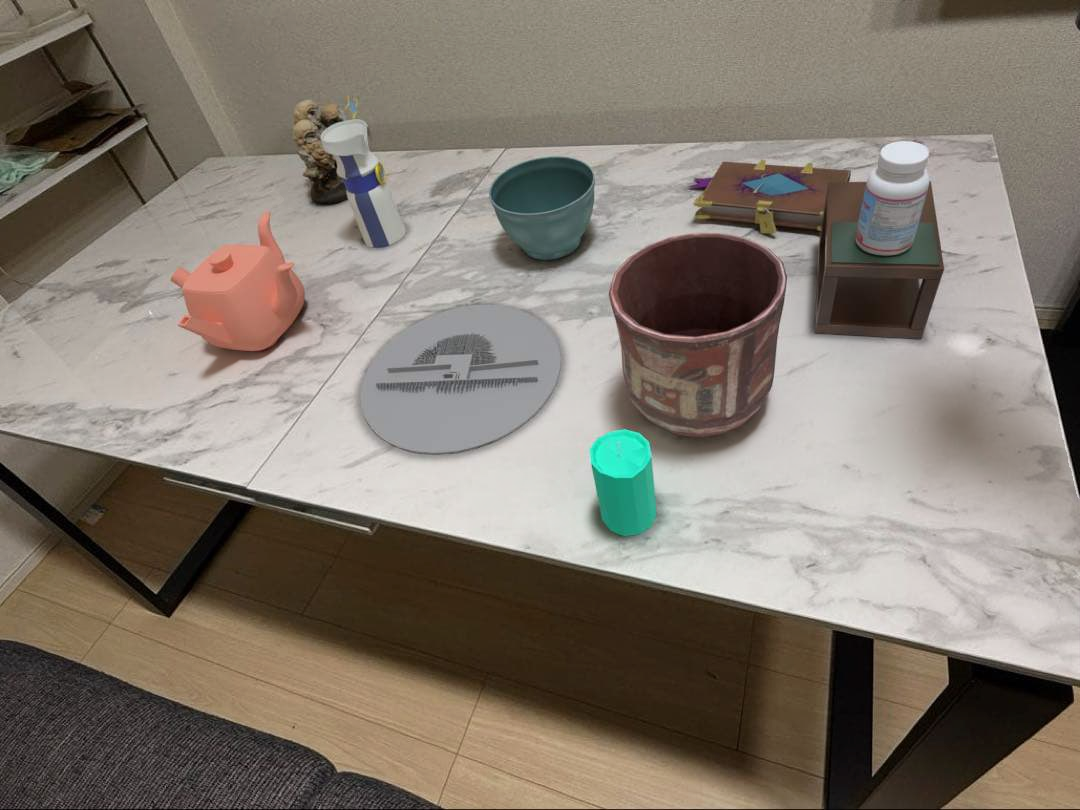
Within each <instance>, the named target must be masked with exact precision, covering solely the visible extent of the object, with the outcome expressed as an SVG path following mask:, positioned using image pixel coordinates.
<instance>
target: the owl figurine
mask: <svg viewBox="0 0 1080 810" xmlns="http://www.w3.org/2000/svg"><path fill="white" fill-rule="evenodd" d="M292 115H293V117H292V121H293V124H292V140H293V141H294V143H295V144H296V146H295V153H296V154H297V155H298V156H299V158H300V159H301V161H303V163H304V165H305V167H306V168H305V171H304V172H302V176H303V178H304V177H305V178H307V179H309V181H310V182H313V183H312V185H311V187H310V191H309V194H310V198H311V201H312V202H315V203H316V204H337V203H340V202H343V201H346V200H348V198H347V189H346V187H345V184H344V182H343V180H342V177H340V176H338V174H337V162H336V159H335V157H334V156H333V155H332V154H329V153H327V152H325V151H324V150H323V147H322V143H321V134H322V132H323V131H324V130H325V129H327V128H328V127H330V126H332V125H334V124H336V123H339V122H342V121H347V120H350V119H349V118H348V116H347V115H346V114H345V112H344V111H343V110H342V108H341V107H340V106H339V105H338V104H336V103H329V104H327V105H326V106H324V107H323V108H322V109H321V111H320V109H319V106H318V104H317V102H315V101H313V100H311V99H305V100H303V101H300V102H298V103H297V104H296V105H295V106H294V108H293V113H292Z"/></svg>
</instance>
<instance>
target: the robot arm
mask: <svg viewBox="0 0 1080 810" xmlns="http://www.w3.org/2000/svg"><path fill="white" fill-rule="evenodd" d="M1074 25H1075V26H1076V28H1077V30H1078V31H1080V9H1079V10H1078V12H1077V15H1076V17H1075V21H1074Z"/></svg>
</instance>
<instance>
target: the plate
mask: <svg viewBox="0 0 1080 810" xmlns="http://www.w3.org/2000/svg"><path fill="white" fill-rule="evenodd" d="M561 355H562V354H561V350H560V346H559V343H558V341H557V338H556V336H555V335H554V333H553V332H552V330H551V328H549V327H548V326H547V324H545V322H543V321H541V320H540V319H539V318H537V317H536V316H534V315H532V314H530V313H529V312H526V311H524V310H521V309H518V308H516V307H511V306H505V305H500V304H475V305H474V304H471V305H465V306H464V305H463V306H460V307H455V308H451V309H447V310H443V311H441V312H438V313H435V314H433V315H430V316H427V317H425V318H424V319H421V320H420V321H418V322H416V323H414V324H412V325H410V326H409V327H407V328H405V329H404V330H403V331H401V332H399V333H398V334H397V335H395V337H393V338H392V339H391V340H390V341H388V343H386V345H385V346H384V347H383V348H382V349H381V350H380V351H379V352H378V353H377V354H376V356H375V357H374V358H373V359H372V361H371V362H370V365H369V367H368V368H367V371H366V372H365V374H364V376H363V380H362V384H361V388H360V405H361V410H362V414H363V417H364V419H365V421H366V423H367V424H368V426H369V427H370V428H371V430H372V431H373V433H375V434H376V435H377V436H378V437H379V438H381V440H383V441H385V442H386V443H388V444H389V445H392V446H393V447H396V448H398V449H401V450H403V451H407V452H411V453H414V454H423V455H449V454H458V453H463V452H468V451H471V450H475V449H478V448H481V447H484V446H486V445H489V444H492V443H494V442H497V441H499V440H501V439H502V438H504V437H506V436H509V435H510V434H512V433H513V432H515V431H516V430H518V429H519V428H520V427H522V426H523V425H524V424H526V423H527V422H528V421H530V420H531V419H532V418H533V417H534V416H536V414H537V413H538V412H539V411H540V410H541V409H542V407H544V405H545V404H546V402H547V401H548V400H549V398H550V397H551V395H552V394H553V392H554V391H555V388H556V386H557V383H558V380H559V377H560V375H561V374H560V373H561V365H562V356H561Z"/></svg>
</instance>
